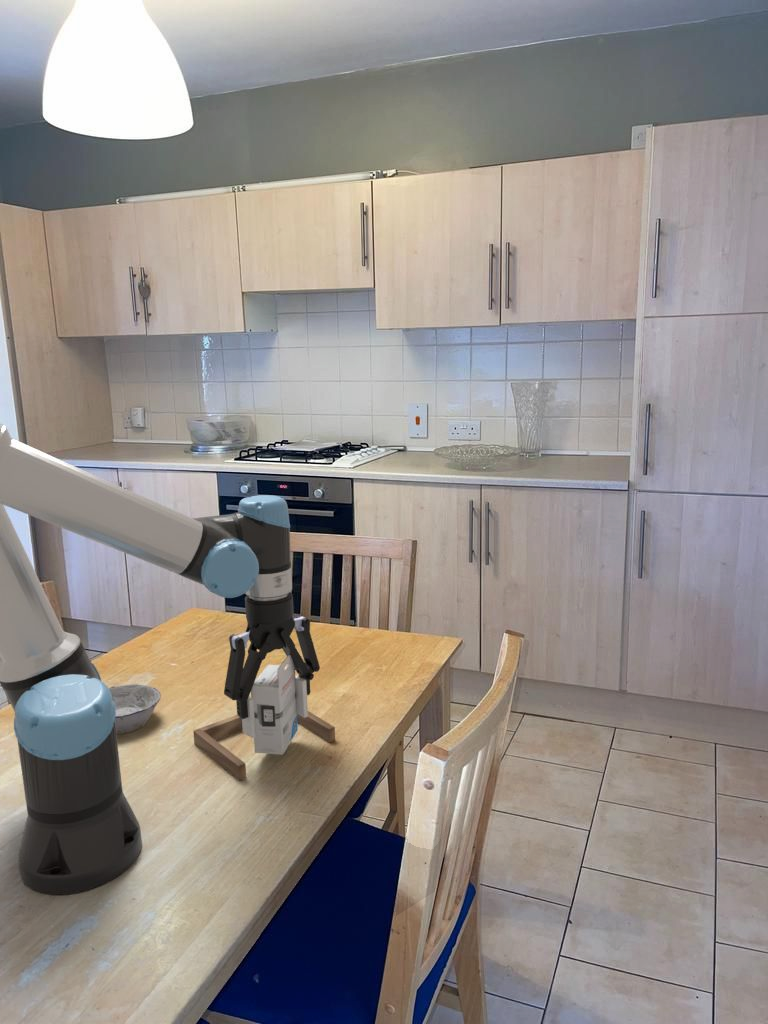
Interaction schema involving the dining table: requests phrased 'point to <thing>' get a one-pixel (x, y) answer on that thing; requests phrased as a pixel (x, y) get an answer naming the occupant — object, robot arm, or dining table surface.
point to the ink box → (275, 708)
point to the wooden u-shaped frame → (212, 732)
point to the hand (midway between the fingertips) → (275, 724)
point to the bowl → (133, 706)
